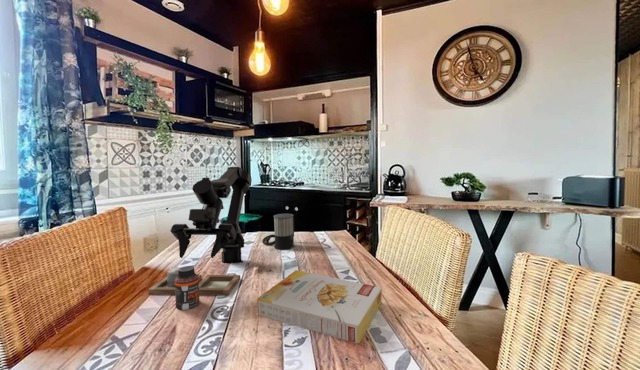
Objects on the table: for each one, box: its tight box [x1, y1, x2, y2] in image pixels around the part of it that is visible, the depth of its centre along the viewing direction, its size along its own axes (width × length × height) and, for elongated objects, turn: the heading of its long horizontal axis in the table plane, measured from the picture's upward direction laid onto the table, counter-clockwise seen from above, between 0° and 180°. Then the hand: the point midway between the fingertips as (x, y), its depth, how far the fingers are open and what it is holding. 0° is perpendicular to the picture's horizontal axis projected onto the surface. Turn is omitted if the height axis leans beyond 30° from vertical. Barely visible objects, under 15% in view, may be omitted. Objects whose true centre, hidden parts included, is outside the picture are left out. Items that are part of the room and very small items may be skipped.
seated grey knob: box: [166, 267, 180, 287], centre depth 91 cm, size 5×5×5 cm
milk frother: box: [261, 213, 295, 251], centre depth 135 cm, size 14×16×15 cm
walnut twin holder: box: [147, 274, 241, 296], centre depth 91 cm, size 11×24×2 cm, turn 87°
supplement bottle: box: [174, 265, 201, 311], centre depth 79 cm, size 6×6×11 cm
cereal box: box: [256, 269, 383, 344], centre depth 78 cm, size 20×6×28 cm
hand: (196, 257), depth 85 cm, fingers open, 9 cm apart
